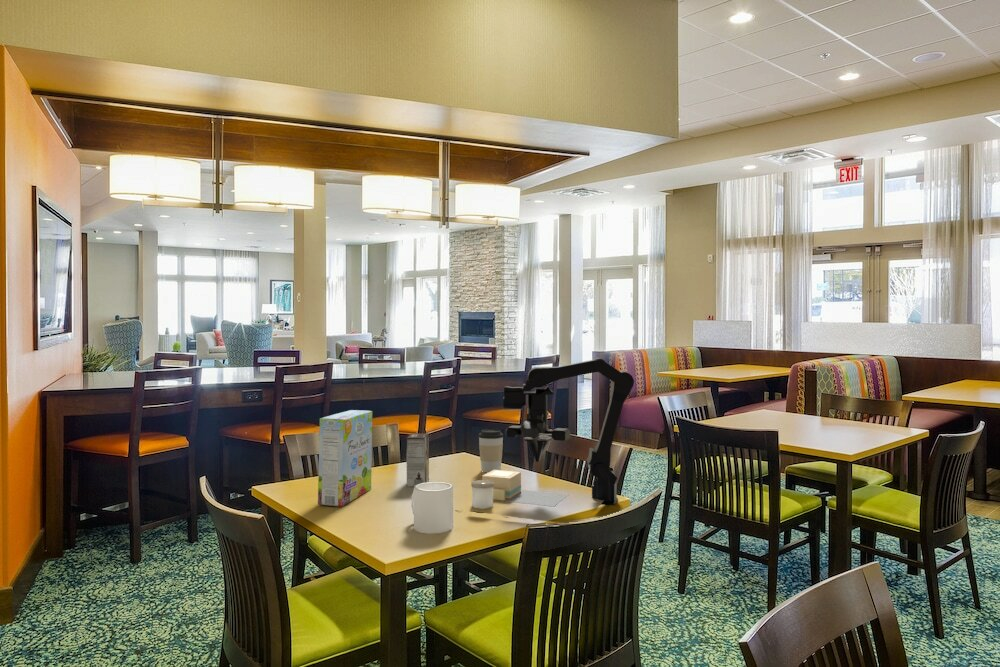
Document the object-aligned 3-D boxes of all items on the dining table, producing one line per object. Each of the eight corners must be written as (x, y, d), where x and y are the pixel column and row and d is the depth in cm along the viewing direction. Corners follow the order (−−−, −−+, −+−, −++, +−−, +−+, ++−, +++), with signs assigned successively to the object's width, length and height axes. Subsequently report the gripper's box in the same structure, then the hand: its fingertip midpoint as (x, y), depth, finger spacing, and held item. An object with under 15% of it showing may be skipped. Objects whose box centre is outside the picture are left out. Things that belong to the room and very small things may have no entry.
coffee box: (410, 480, 223) (410, 433, 223) (429, 480, 223) (429, 433, 223) (406, 486, 214) (405, 437, 214) (425, 486, 214) (425, 437, 214)
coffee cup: (493, 475, 230) (493, 432, 230) (473, 471, 236) (473, 430, 236) (508, 470, 237) (508, 429, 237) (488, 467, 243) (488, 426, 243)
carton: (521, 491, 203) (521, 471, 203) (509, 498, 195) (509, 478, 194) (494, 488, 207) (494, 469, 206) (482, 495, 198) (482, 475, 198)
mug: (397, 525, 173) (397, 484, 173) (427, 516, 181) (427, 478, 181) (431, 536, 164) (431, 493, 164) (461, 526, 171) (461, 486, 171)
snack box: (344, 508, 189) (344, 419, 189) (316, 506, 191) (316, 418, 191) (373, 489, 211) (373, 409, 210) (348, 488, 212) (348, 408, 212)
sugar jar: (497, 508, 189) (497, 481, 189) (488, 514, 183) (488, 486, 183) (477, 505, 191) (477, 479, 191) (467, 511, 186) (467, 484, 185)
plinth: (568, 498, 199) (568, 484, 199) (553, 510, 186) (553, 495, 186) (493, 490, 209) (493, 477, 209) (474, 501, 196) (474, 487, 196)
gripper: (498, 411, 192) (498, 464, 192) (559, 414, 185) (559, 469, 185) (512, 406, 202) (512, 457, 202) (570, 409, 195) (570, 462, 195)
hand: (537, 461), depth 196 cm, fingers closed
